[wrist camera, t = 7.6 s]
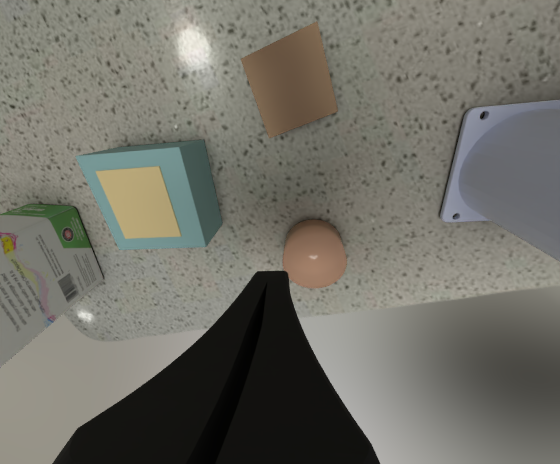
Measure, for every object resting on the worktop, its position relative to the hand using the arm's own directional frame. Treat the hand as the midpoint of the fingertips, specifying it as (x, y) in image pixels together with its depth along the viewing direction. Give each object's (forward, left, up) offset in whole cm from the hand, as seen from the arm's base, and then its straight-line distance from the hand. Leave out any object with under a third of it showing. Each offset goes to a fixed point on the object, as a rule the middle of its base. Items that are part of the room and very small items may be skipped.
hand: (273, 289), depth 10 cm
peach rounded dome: (-2, +4, -10) cm, 11 cm away
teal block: (+6, -2, -8) cm, 10 cm away
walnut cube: (-1, -8, -10) cm, 13 cm away
